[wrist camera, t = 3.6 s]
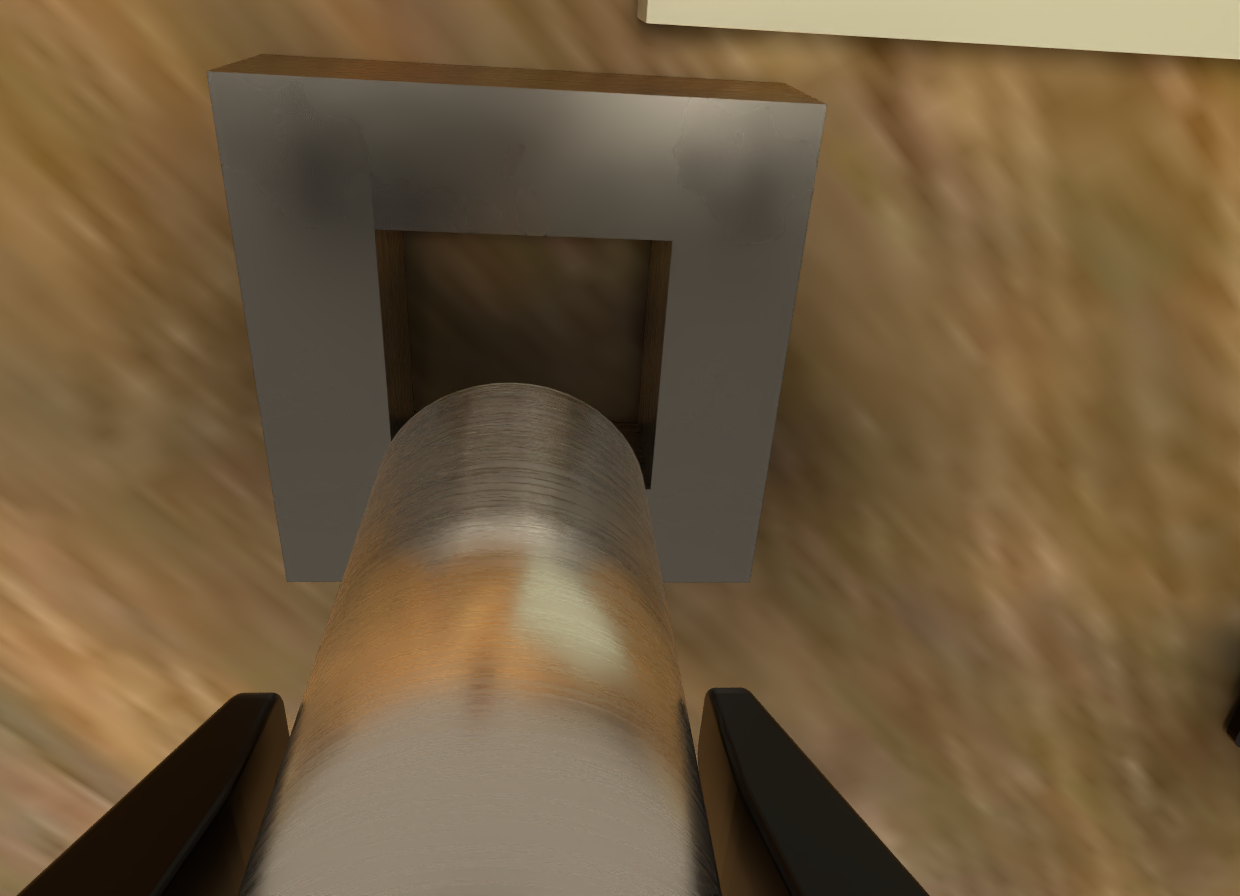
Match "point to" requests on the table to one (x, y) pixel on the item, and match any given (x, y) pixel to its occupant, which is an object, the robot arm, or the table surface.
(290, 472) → the block
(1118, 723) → the table surface
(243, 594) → the table surface
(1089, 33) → the tray
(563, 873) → the light grey cylindrical piece
